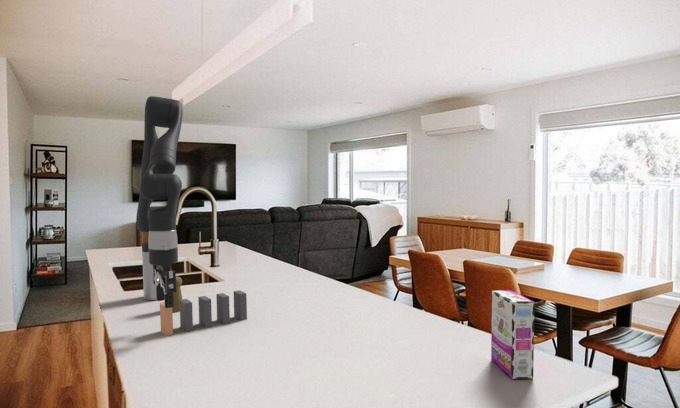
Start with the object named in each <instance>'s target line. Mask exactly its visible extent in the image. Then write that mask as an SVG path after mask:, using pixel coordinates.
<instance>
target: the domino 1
mask: <svg viewBox="0 0 680 408" xmlns="http://www.w3.org/2000/svg"><path fill="white" fill-rule="evenodd" d="M182 299H183V300H180V312H179V321H180V323H179V325H180V326H179V327H180V328H181V329H182V330H183V331H185V332H191V330H192V331H193V330H194V320H193V317H194V316H193V315H194V314H193V302H192V301H190V300H189V299H187V298H182Z"/></svg>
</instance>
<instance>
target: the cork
mask: <svg viewBox="0 0 680 408" xmlns="http://www.w3.org/2000/svg"><path fill="white" fill-rule="evenodd" d="M170 280H171V279H170ZM182 284H183V280H182V278H181V277H180V276H177V275H176V290H177V291H176V293H173V298H174V306H173V307H172V314H173V313H174V314H175V313H180V300H183V299H184V298H183V294H182V293H183V292H182V289H181V286H182ZM169 289H171V287H170V286H169Z"/></svg>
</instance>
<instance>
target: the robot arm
mask: <svg viewBox="0 0 680 408" xmlns="http://www.w3.org/2000/svg"><path fill="white" fill-rule="evenodd" d="M144 106H145V107H144V122H143V123H144V129H143V130H144V132H143V133H144V134H143V149H142V159H141V168H140V185H139V198H138V204H137V209H136V217H135V218H136V220H135V222H136V227H137V230H138V231H139V232H140V233H148V239H147V241H145V242H143V243H142V244H141V259H142V260H141V261H142V279H143V281H142V283H143V287H142V288H143V299H144V300H147V301H157V302H162V301H164V302H165V307H166V308H171V307H173V306H174V298H173V293H176V291H177V290H176V276H177V275H176V270H174V269H172V265H173V264H177V263H178V261H179V252H178V251H179V248H178V245H179V244H178V233H177V221H176V220H177V209H178V203H179V200H180V195H181V192H182V188H183V183H182V180H181V178H180V176H178V175H177V174H176V173H175V171H176V166H177V164H176V162H177V148H178V143H179V140H180V134H181V128H182V125H183V124H182V123H183V117H184V116H183V115H184V113H183V112H184V110H183V109H184V108H183V104H182V102H181V101H180V100H178V99H173V98H167V97H161V96H156V95H155V96H153V95H151V96H149V97H147V98H146V101H145V105H144ZM156 127H158V128H164V129H168V130H166V131H165V132H164V134H162V135H161V136H160V137H158V134H157V130H156ZM174 173H175V174H174ZM154 200H155V201H157V200H158V201H160V200H164V201H165V200H168V202H167V204H166V205H157V206H155V205H153V206H152V205H151V204H152V203H153V201H154ZM170 279H171V280H170ZM169 286H170V287H171V289H169Z"/></svg>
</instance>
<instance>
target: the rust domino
mask: <svg viewBox="0 0 680 408" xmlns="http://www.w3.org/2000/svg"><path fill="white" fill-rule="evenodd" d="M159 315H160V316H159V317H160V332H161V333H162V334H163V335H164V336H166V337H167V336H172V335H174V322H173V321H174V319H173V313H172V307H171V308H166V307H165V301H164V302H160V303H159Z"/></svg>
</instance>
